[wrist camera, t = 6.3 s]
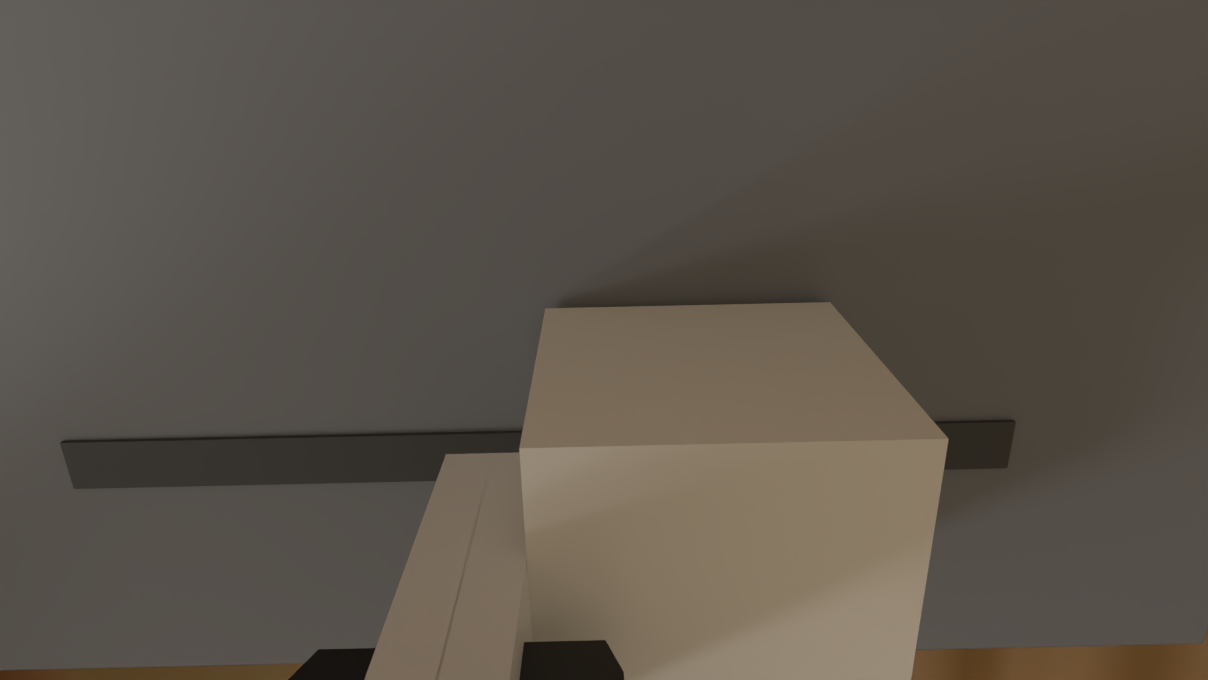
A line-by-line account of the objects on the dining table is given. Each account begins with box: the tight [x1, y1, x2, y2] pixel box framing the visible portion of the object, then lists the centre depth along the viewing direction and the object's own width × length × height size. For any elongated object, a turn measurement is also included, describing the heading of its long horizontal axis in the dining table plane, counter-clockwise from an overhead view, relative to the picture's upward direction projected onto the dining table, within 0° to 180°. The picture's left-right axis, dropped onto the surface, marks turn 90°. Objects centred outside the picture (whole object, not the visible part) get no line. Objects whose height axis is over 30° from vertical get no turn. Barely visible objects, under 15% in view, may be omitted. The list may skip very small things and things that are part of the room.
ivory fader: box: [519, 302, 949, 680], centre depth 13 cm, size 5×6×5 cm
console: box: [0, 0, 1208, 670], centre depth 14 cm, size 26×24×3 cm
